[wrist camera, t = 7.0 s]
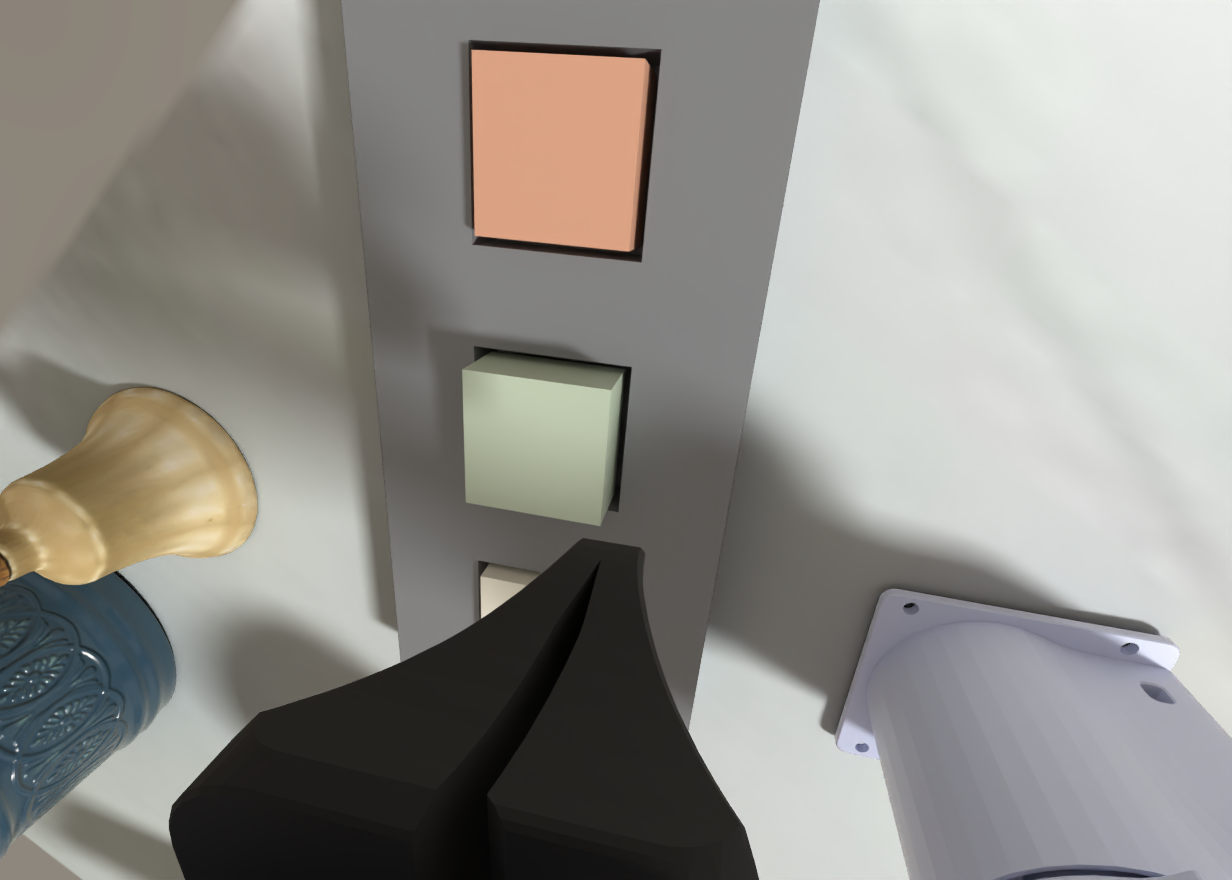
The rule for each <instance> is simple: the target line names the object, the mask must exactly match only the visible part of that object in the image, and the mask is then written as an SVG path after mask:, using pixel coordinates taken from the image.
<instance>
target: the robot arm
mask: <svg viewBox="0 0 1232 880" xmlns="http://www.w3.org/2000/svg"><path fill="white" fill-rule="evenodd" d="M644 563H645V552H644V551H643V550H642V548H641V547H635V546H629V545H623V544H617V543H611V542H605V541H599V540H593V539H587V538H582V539H580V540H579V541H578V542H576V543H575V544H574V545H573V546H572V547H571V548H570V549H569V550H568V551H566V552H565V553H564V554H563V555H562V556H561V557H560V558H559V559H558V560H556V561H555V562H554V563H553V564H552V565H551V566H550V567H548V568H547V569H546V570H545V571H544V572H543V573H541V574H540V575H539V576H538V577H536V578H535V579H534V580H533V581H532V582H530V583H529V584H528V585H527V586H525V587H524V588H523V589H522V590H520V591H519V592H518V593H517V594H515V595H514V596H512V597H511V598H510V599H508V600H507V601H506V602H504V603H503V604H501V605H500V606H499V607H497V608H496V609H495V610H493V611H492V612H490V613H489V614H487V615H486V616H484V617H483V618H481V619H480V620H478V621H477V622H475V623H474V624H472V625H471V626H469V627H467V628H466V629H464V630H462V631H461V632H459V633H457V634H456V635H454V636H452V637H450V638H449V639H447V640H445V641H443V642H441V643H439V644H437V645H435V646H433V647H431V648H429V649H427V650H425V651H423V652H421V653H419V654H417V655H415V656H413V657H411V658H409V659H407V660H405V661H403V662H401V663H398V664H396V665H394V666H392V667H389V668H387V669H385V670H382V671H380V672H377V673H375V674H373V675H370V676H368V677H365V678H363V679H360V680H357V681H355V682H352V683H350V684H347V685H344V686H342V687H339V688H336V689H333V690H330V691H328V692H325V693H322V694H318V695H315V696H312V697H309V698H306V699H303V700H299V701H296V702H293V703H290V704H287V705H284V706H280V707H277V708H274V709H270V710H267V711H263V712H260V713H259V714H258V715H257V716H256V717H255V718H254V719H252V720H251V721H250V722H249V723H248V724H247V725H246V726H245V727H244V728H243V729H242V730H241V731H240V732H239V733H238V734H237V735H236V736H235V737H234V738H233V739H232V740H231V742H230V743H229V744H228V745H227V746H226V747H225V748H224V749H223V750H222V751H221V752H220V753H219V754H218V756H217V757H216V758H215V759H214V760H213V761H212V762H211V763H210V764H209V765H208V766H207V767H206V769H205V770H204V771H203V772H202V773H201V774H200V775H199V776H198V777H197V778H196V779H195V780H194V781H193V783H192V784H191V785H190V786H189V787H188V788H187V789H186V790H185V791H184V792H183V793H182V795H181V796H180V797H179V798H178V799H177V800H176V802H175V803H174V804H173V805H172V809H171V814H170V819H169V831H170V836H171V841H172V845H173V848H174V851H175V854H176V856H177V859H178V862H179V864H180V867H181V870H182V872H183V875H184V878H185V880H759V877H758V873H757V869H756V865H755V862H754V858H753V855H752V851H751V848H750V844H749V840H748V837H747V833H746V830H745V827H744V826H743V824H742V823H741V821H740V820H739V818H738V817H737V815H736V814H735V812H734V811H733V809H732V808H731V806H730V805H729V803H728V801H727V800H726V798H725V797H724V795H723V793H722V792H721V790H720V788H719V787H718V785H717V784H716V782H715V780H714V779H713V777H712V775H711V773H710V772H709V770H708V768H707V766H706V764H705V763H704V761H703V759H702V757H701V756H700V754H699V752H698V750H697V748H696V746H695V744H694V742H693V740H692V738H691V736H690V734H689V732H688V730H687V727H686V725H685V723H684V721H683V719H682V717H681V715H680V713H679V711H678V709H677V706H676V704H675V702H674V699H673V697H672V694H671V692H670V689H669V687H668V684H667V681H666V679H665V676H664V673H663V670H662V667H661V664H660V661H659V658H658V655H657V651H656V648H655V644H654V641H653V637H652V633H651V629H650V624H649V620H648V615H647V609H646V603H645V598H644V589H643V574H644ZM908 603H915V605H914V606H913V607H911V608H905V607H904V605H905V604H908ZM1127 643H1130V644H1129V645H1128V646H1125V647H1122V646H1123V645H1124V644H1127ZM1179 655H1180V650H1179V648H1178V647H1177V646H1176V645H1175V644H1174V643H1173V642H1172V641H1171V640H1170V639H1169V638H1166V637H1163V636H1158V635H1153V634H1147V633H1142V632H1136V631H1130V630H1125V629H1119V628H1114V627H1108V626H1102V625H1097V624H1091V623H1086V622H1080V621H1074V620H1069V619H1063V618H1058V617H1052V616H1046V615H1041V614H1035V613H1030V612H1024V611H1019V610H1013V609H1007V608H1002V607H996V606H991V605H985V604H979V603H974V602H968V601H963V600H957V599H951V598H946V597H940V596H935V595H929V594H923V593H918V592H912V591H907V590H901V589H889V590H886V591H885V592H883V593H882V594H881V596H880V597H879V600H878V603H877V606H876V609H875V613H874V616H873V619H872V622H871V625H870V628H869V631H868V634H867V637H866V640H865V644H864V647H863V650H862V653H861V656H860V659H859V662H858V665H857V668H856V672H855V675H854V678H853V681H852V684H851V687H850V690H849V693H848V696H847V699H846V703H845V706H844V709H843V712H842V715H841V718H840V721H839V724H838V727H837V730H836V734H835V741H836V745H837V747H838V748H839V749H840V750H841V751H844V752H846V753H851V754H855V755H860V756H864V757H869V758H873V759H878V760H880V762H881V766H882V770H883V774H884V778H885V782H886V786H887V790H888V794H889V798H890V802H891V806H892V810H893V814H894V818H895V822H896V826H897V830H898V834H899V838H900V842H901V846H902V850H903V854H904V858H905V862H906V867H907V871H908V875H909V879H910V880H1232V738H1231V737H1230V736H1229V735H1228V734H1227V733H1226V732H1225V730H1224V729H1223V728H1222V727H1221V726H1220V725H1219V724H1218V723H1217V722H1216V721H1215V720H1214V718H1213V717H1212V716H1211V715H1210V714H1209V713H1208V712H1207V711H1206V710H1205V709H1204V708H1203V706H1202V705H1201V704H1200V703H1199V702H1198V701H1197V700H1196V699H1195V698H1194V697H1193V695H1192V694H1191V693H1190V692H1189V691H1188V690H1187V689H1186V688H1185V687H1184V686H1183V685H1182V683H1181V682H1180V681H1179V680H1178V679H1177V678H1176V677H1175V676H1174V675H1173V674H1172V672H1171V669H1172V667H1173V666H1174V664H1175V662H1176V661H1177V659H1178V658H1179ZM858 743H864V744H858Z"/></svg>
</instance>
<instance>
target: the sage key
mask: <svg viewBox="0 0 1232 880" xmlns="http://www.w3.org/2000/svg"><path fill="white" fill-rule="evenodd" d="M624 380H625V369H620V368H612V367H605V366H597V365H590V364H582V363H575V362H568V361H560V360H553V359H545V358H538V357H530V356H523V355H515V354H508V353H500V352H493V351H492V352H490V353H488V354H487V355H485V356H484V357H482V358H480V359H479V360H477V361H475V362H474V363H472V364H470V365H469V366H467V367H465V368H464V369H462V382H463V419H464V455H465V491H466V503H472V504H477V505H483V506H489V507H494V508H500V509H506V510H511V511H517V512H523V513H528V514H534V515H540V516H545V517H551V518H557V519H562V520H568V521H574V522H579V523H585V524H591V525H596V526H601V523H602V521H603V519H604V516H605V514H606V512H607V509H608V507H609V505H610V502H611V500H612V498H613V495H614V493H615V481H616V470H617V459H618V448H619V436H620V425H621V414H622V403H623V391H624Z"/></svg>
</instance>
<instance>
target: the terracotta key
mask: <svg viewBox="0 0 1232 880" xmlns="http://www.w3.org/2000/svg"><path fill="white" fill-rule="evenodd" d="M656 86H657V75H656V74H655V72H654V71H653V69H652V68H651V66H650V65H649V63H648V62H647V60H646V59H643V58H623V57H604V56H584V55H565V54H545V53H526V52H506V51H487V50H472V105H473V164H474V223H475V236H482V237H492V238H501V239H511V240H521V241H531V242H540V243H550V244H560V245H570V246H579V247H589V248H599V249H609V250H618V251H628V252H629V251H631V250H634V249H636V248H638V247H640V246H642V238H643V227H644V216H645V205H646V195H647V184H648V173H649V162H650V151H651V140H652V130H653V119H654V108H655V97H656Z"/></svg>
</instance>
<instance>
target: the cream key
mask: <svg viewBox="0 0 1232 880" xmlns="http://www.w3.org/2000/svg"><path fill="white" fill-rule="evenodd" d="M540 574H541V572H536V571H531V570H526V569H520V568H515V567H510V566H505V565H499V564H494V563H489V565H488V566H487V568H486V569H485V571H484V572H483V573H482V575H481V618H483V617H484V616H486V615H487V614H489V613H490V612H492V611H493V610H495V609H496V608H497V607H499V606H500V605H501V604H503V603H504V602H506V601H507V600H508V599H510V598H511V597H512V596H514V595H515V594H517V593H518V592H519V591H520V590H522V589H523V588H524V587H525V586H527V585H528V584H529V583H530V582H532V581H533V580H534V579H535V578H536V577H538V576H539V575H540Z"/></svg>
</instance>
